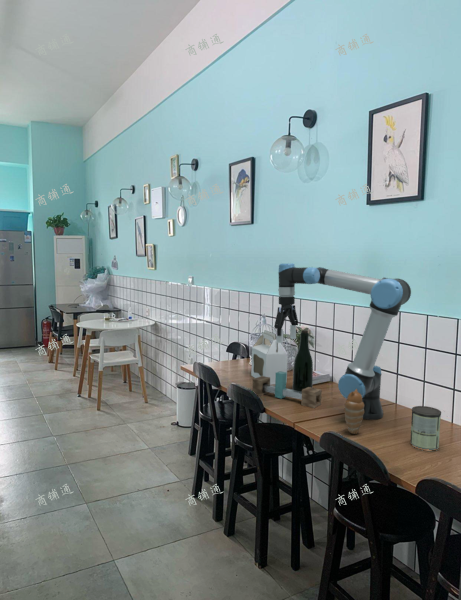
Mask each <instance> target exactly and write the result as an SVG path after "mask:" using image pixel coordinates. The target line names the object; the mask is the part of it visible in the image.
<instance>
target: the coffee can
mask: <svg viewBox="0 0 461 600" xmlns="http://www.w3.org/2000/svg"><path fill="white" fill-rule="evenodd" d="M441 417H442V411H441V410H440V409H438V408H436V407H432V406H426V405H425V406H424V405H416V406H413V407H411V426H410V442H409V444H410V443H411V444H412V445H413V446H415V447H418V448H422V449H429V450H434V449H438V448H439V449H440V431H441ZM439 449H438V450H439Z"/></svg>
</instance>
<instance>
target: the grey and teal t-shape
mask: <svg viewBox="0 0 461 600" xmlns="http://www.w3.org/2000/svg"><path fill="white" fill-rule="evenodd" d="M286 376H287V377H288V371H287V372H281V371H279V372H276V378H275V384H272V385H268V384H263V390H262V391H265V392H270V393H269V394H274V398H278V399H280V400H281V399H285V398H286V397H287V398H293V399H297V400H301V401H302V392H301V391H296V390H293V389H292V388H287V383H286Z"/></svg>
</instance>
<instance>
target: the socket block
mask: <svg viewBox="0 0 461 600" xmlns="http://www.w3.org/2000/svg"><path fill="white" fill-rule="evenodd" d="M263 384H268V385H270V377H265V376H260V377H257V378H254V377H253V378H252V385H251V386H252V387H251V388H252V389H251V390H252V391H254V392H255V393H256V394H257V395H258V396H257V395H256V396H257V397H261V396H264V395H267V394H271V393H270V392H265V391H262V390H263ZM252 391H251V392H252Z"/></svg>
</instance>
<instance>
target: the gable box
mask: <svg viewBox="0 0 461 600" xmlns="http://www.w3.org/2000/svg"><path fill="white" fill-rule="evenodd" d="M288 356H289V354H288V352H287V350H286V349H285V347H284V345H283V343H277V333H274V332H270V331H268V330H266V329H265V330H264V331H262V332H261V335H260V337H259V338H258V339H257V341H256V342H255V344H254V345H253V346H252V347H251V370H250V372H251V374H250V376H251V377H253V379H254V378H257V377H260V376H265V377H270V385H275V378H276V372H279V371H281V372H287V373H288V358H289V357H288ZM287 378H288V375H287V376H286V384H287V381H288V379H287Z"/></svg>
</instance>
